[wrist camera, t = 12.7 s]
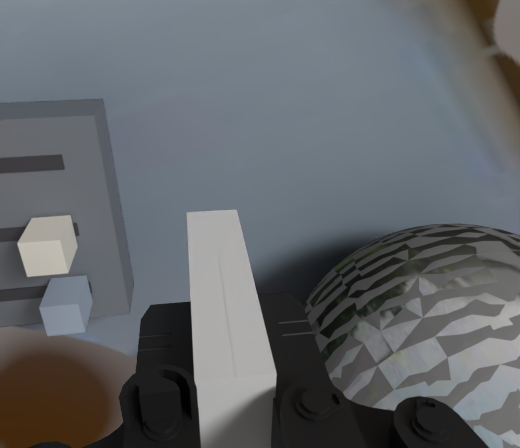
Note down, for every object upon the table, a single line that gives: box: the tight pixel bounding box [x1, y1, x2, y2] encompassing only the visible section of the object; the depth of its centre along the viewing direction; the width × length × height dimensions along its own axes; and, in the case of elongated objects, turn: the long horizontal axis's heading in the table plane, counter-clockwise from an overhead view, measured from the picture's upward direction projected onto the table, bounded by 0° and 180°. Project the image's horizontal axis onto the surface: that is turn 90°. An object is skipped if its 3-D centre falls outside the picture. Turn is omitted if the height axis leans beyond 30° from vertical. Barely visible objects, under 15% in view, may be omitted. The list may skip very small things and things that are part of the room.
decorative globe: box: [303, 224, 520, 448], centre depth 41 cm, size 30×30×30 cm
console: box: [0, 99, 134, 327], centre depth 41 cm, size 19×16×5 cm
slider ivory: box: [17, 215, 78, 277], centre depth 37 cm, size 3×3×4 cm
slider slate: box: [39, 275, 93, 336], centre depth 40 cm, size 3×3×4 cm
